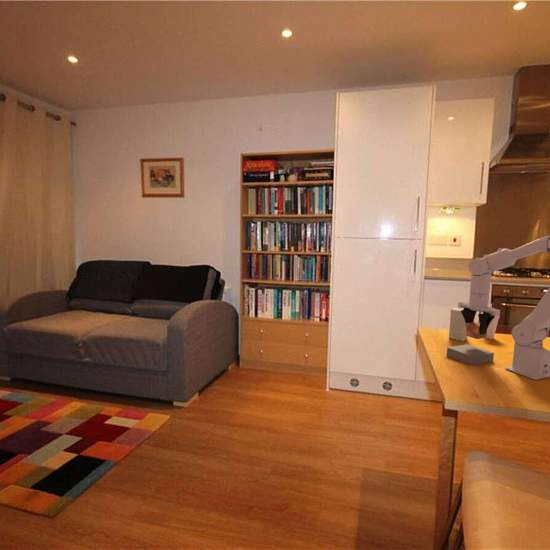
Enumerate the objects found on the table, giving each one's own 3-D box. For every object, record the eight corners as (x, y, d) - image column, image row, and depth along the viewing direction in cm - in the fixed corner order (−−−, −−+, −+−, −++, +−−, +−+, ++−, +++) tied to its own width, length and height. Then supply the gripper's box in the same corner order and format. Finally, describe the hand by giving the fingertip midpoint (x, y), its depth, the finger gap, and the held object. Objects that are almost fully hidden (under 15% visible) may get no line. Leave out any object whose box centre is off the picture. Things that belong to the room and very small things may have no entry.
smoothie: (492, 335, 155) (496, 302, 153) (500, 340, 149) (504, 305, 147) (476, 334, 156) (479, 302, 154) (483, 339, 149) (487, 305, 148)
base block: (493, 361, 124) (493, 352, 124) (472, 365, 120) (473, 356, 120) (466, 352, 133) (467, 344, 133) (446, 355, 129) (447, 347, 129)
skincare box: (467, 339, 149) (470, 310, 147) (464, 341, 146) (467, 311, 144) (451, 336, 153) (453, 307, 151) (448, 338, 150) (450, 309, 148)
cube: (486, 337, 127) (487, 325, 127) (477, 339, 126) (478, 326, 125) (474, 334, 131) (475, 321, 131) (465, 335, 130) (466, 322, 129)
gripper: (507, 296, 121) (503, 336, 123) (469, 289, 135) (466, 325, 136) (492, 297, 119) (489, 338, 120) (455, 290, 132) (452, 327, 134)
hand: (475, 332), depth 128 cm, fingers closed on cube, 4 cm apart
